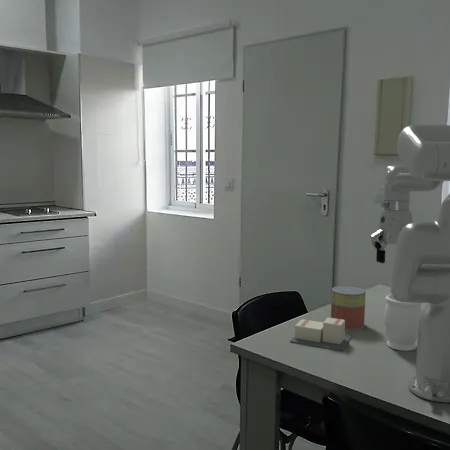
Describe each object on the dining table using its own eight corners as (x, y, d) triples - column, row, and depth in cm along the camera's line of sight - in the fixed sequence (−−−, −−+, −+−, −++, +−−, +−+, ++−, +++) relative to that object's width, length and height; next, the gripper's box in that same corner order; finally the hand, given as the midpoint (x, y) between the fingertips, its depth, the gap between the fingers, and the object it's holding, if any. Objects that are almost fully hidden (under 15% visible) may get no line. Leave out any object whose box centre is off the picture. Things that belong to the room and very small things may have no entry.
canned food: (367, 322, 172) (369, 288, 170) (360, 331, 162) (361, 296, 160) (335, 317, 177) (336, 284, 175) (326, 326, 167) (327, 291, 165)
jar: (396, 354, 143) (398, 304, 141) (376, 341, 153) (378, 294, 151) (427, 350, 146) (430, 301, 144) (406, 338, 156) (408, 292, 154)
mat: (342, 351, 145) (342, 349, 145) (290, 342, 152) (290, 340, 152) (352, 336, 158) (352, 334, 158) (303, 328, 165) (303, 327, 165)
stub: (340, 344, 149) (341, 324, 148) (322, 341, 151) (323, 322, 151) (344, 338, 154) (345, 319, 153) (327, 335, 156) (327, 317, 156)
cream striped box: (320, 342, 151) (321, 329, 150) (294, 338, 155) (295, 325, 154) (326, 335, 157) (327, 322, 157) (301, 331, 161) (301, 318, 160)
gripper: (381, 208, 145) (378, 265, 147) (427, 206, 151) (424, 261, 154) (365, 205, 152) (362, 260, 154) (409, 204, 158) (406, 257, 160)
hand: (393, 261), depth 154 cm, fingers open, 9 cm apart
